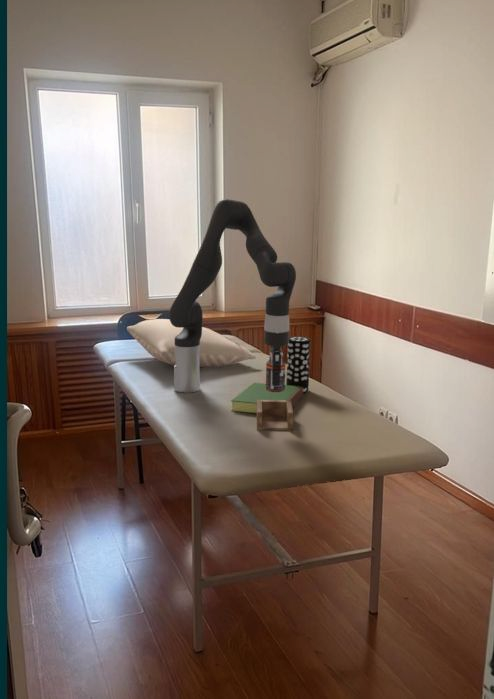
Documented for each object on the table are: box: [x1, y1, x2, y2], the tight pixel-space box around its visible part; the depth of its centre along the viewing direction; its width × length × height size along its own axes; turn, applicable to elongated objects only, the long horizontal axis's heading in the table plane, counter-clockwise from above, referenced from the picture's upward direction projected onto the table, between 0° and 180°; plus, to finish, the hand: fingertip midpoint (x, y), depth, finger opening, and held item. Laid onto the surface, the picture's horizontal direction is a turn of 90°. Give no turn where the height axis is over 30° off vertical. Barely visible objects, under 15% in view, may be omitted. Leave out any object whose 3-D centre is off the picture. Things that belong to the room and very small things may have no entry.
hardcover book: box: [230, 382, 304, 415], centre depth 214 cm, size 25×19×4 cm
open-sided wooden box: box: [256, 400, 294, 431], centre depth 194 cm, size 11×12×6 cm
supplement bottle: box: [265, 356, 287, 392], centre depth 189 cm, size 6×6×11 cm
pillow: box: [126, 318, 257, 368], centre depth 265 cm, size 44×18×44 cm
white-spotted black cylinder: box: [285, 336, 311, 395], centre depth 227 cm, size 8×8×20 cm
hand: (275, 382), depth 189 cm, fingers closed on supplement bottle, 6 cm apart
